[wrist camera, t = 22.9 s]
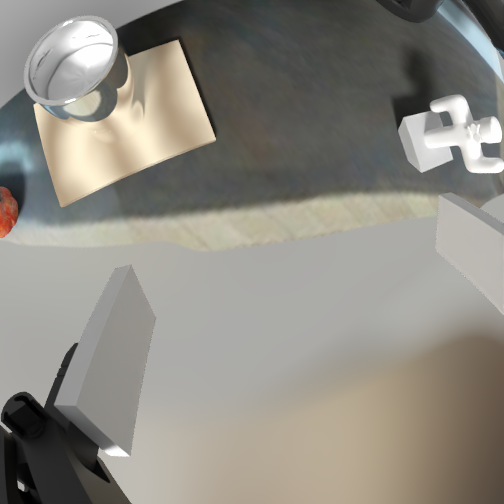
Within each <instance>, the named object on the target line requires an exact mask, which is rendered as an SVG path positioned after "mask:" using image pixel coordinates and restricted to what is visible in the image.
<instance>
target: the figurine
mask: <svg viewBox="0 0 504 504" xmlns="http://www.w3.org/2000/svg"><path fill="white" fill-rule="evenodd" d="M430 109H431V110H432V111H428V112H424V113H419V114H415V115H411V116H407V117H404V118H403V120H402V122H401V125H400V127H399V129H398V133H399V135H400V138H401V141H402V144H403V147H404V150H405V153H406V157H407V160H408V161H409V162H410V163H411V164H412V165H413V166H414V167H416V168H417V169H418V170H419V171H420V172H421V173H422V172H424V171H427V170H429V169H431V168H434V167H436V166H439V165H441V164H443V163H446V162H448V161H450V160H453V158H452V154H451V150H450V147H449V146H454V145H458V146H459V147H460V149H461V152H462V155H463V159H464V163H465V166H466V168H467V170H469V171H470V172H474V173H499V172H501V171H502V170H503V169H504V162H503V160H502V159H500V158H486V157H484V156H483V153H482V149H481V145H480V143H481V142H487V143H497V142H500V141H501V139H502V131H501V127H500V124H499V122H498V120H497V119H496V118H495V117H494V116H492V117H486V118H482V119H481V120H479V121H474V120H473V118H472V115H471V112H470V109H469V106H468V104H467V101H466V99H465V98H464V97H463V96H462V95H450V96H446V97H443V98H440V99H436V100H433V101H432V102H431V103H430ZM443 111H448V112H449V113H450V116H451V119H452V122H453V125H452V126H446V127H443V124H442V121H441V119H440V116H439V113H438V112H443Z"/></svg>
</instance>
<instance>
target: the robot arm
mask: <svg viewBox="0 0 504 504" xmlns="http://www.w3.org/2000/svg"><path fill="white" fill-rule="evenodd" d="M377 1H378V2H379V3H380V4H381V5H383V6H384V7H385V8H386V9H388V10H389V11H391V12H392V13H394V14H395V15H397V16H399V17H400V18H403V19H405V20H407V21H410V22H415V23H420V22H424V21H425V20H427V19H429V18H431V17H432V16H433V15H434V14H435V12H436V11H437V9H438V8H439V6H440V5H441V3H442V2H443V0H377ZM462 1H463V2H464V3H465V4H466V6H467V7H468V8H469V10H470V11H471V12H472V13H473V15H474V16H475V18H476V19H477V20H478V22H479V23H480V24H481V26H482V27H483V29H484V30H485V32H486V33H487V34H488V36H489V37H490V39H491V42H492V44H493V46H494V47H495V48H496V49H497V50H498V51H499V53H500V54H501V56H502V58H503V59H504V0H462ZM435 250H436V251H437V252H438V253H439V254H441V255H442V256H443V257H444V258H445V259H446V260H448V261H449V262H450V263H451V264H452V265H453V266H454V267H455V268H456V269H457V270H458V271H460V272H461V273H462V274H463V275H464V276H465V277H466V278H467V279H468V280H469V281H470V282H471V283H472V284H473V285H474V286H475V287H477V289H478V290H480V291H481V292H482V293H483V294H484V295H485V296H486V297H487V298H488V299H489V300H490V301H491V302H492V303H493V304H494V306H495V307H496V308H497V309H498V310H499V311H500V312H501V313H502V314H503V315H504V223H502V222H500V221H499V220H497V219H496V218H494V217H492V216H491V215H489V214H488V213H486V212H484V211H483V210H481V209H479V208H478V207H476V206H474V205H473V204H471V203H469V202H467V201H466V200H464V199H462V198H460V197H459V196H457V195H455V194H453V193H446V194H441V195H439V208H438V226H437V238H436V249H435ZM155 320H156V317H155V315H154V313H153V311H152V309H151V307H150V305H149V302H148V300H147V298H146V296H145V294H144V292H143V290H142V288H141V285H140V283H139V281H138V279H137V276H136V274H135V272H134V270H133V267H132V265H128V266H124V267H120V268H116V269H115V270H114V271H113V273H112V275H111V277H110V279H109V281H108V283H107V285H106V287H105V289H104V291H103V293H102V295H101V297H100V299H99V301H98V303H97V305H96V307H95V309H94V311H93V313H92V315H91V317H90V319H89V322H88V324H87V326H86V328H85V330H84V332H83V335H82V337H81V339H80V341H79V343H75V344H74V345H73V346H72V347H71V348H70V350H69V351H68V352H67V353H66V355H65V357H64V360H63V362H62V364H61V368H60V369H59V371H58V373H57V377H56V378H55V381H54V383H53V386H52V388H51V391H50V393H49V396H48V398H47V401H46V404H45V406H44V408H43V407H42V406H41V405H40V404H39V403H38V402H37V401H36V400H35V399H34V397H33V396H32V395H31V394H29V393H27V392H20V393H17V394H15V395H13V396H12V397H11V398H10V399H9V400H8V401H7V403H6V404H5V406H4V407H3V411H2V413H1V422H3V423H4V424H5V425H6V426H7V427H8V428H9V429H10V430H11V431H12V433H8V432H7V431H6V430H5V429H4V428H3V427H2V426H1V425H0V504H131V503H130V501H129V500H128V498H127V497H126V496H125V494H124V493H123V491H122V490H121V489H120V487H119V486H118V484H117V483H116V481H115V480H114V478H113V477H112V475H111V473H110V472H109V470H108V469H107V467H106V466H105V464H104V462H103V461H102V460H101V459H100V458H99V457H98V456H97V454H98V449H99V447H100V448H101V449H102V450H104V452H106V453H107V454H108V455H109V456H131V449H132V441H133V435H134V428H135V422H136V415H137V409H138V404H139V398H140V392H141V387H142V382H143V377H144V371H145V366H146V361H147V356H148V352H149V347H150V343H151V338H152V333H153V329H154V324H155ZM17 480H18V481H19V482H21V483H22V484H24V487H25V490H24V491H22V490H20V489H19V488H18V483H17Z"/></svg>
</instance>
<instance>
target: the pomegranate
mask: <svg viewBox="0 0 504 504" xmlns="http://www.w3.org/2000/svg"><path fill="white" fill-rule="evenodd" d="M17 218H18V205H17V201H16V200H15V199H14V198H13V197H12V195H11V192H10V191H9V190H8V189H7V188H5V187H0V238H3V237H5V236H6V235H7V234H8V233H9V232H10V231H11V229H12V227H13V226H14V225H15V224H16V222H17Z"/></svg>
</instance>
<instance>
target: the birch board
mask: <svg viewBox="0 0 504 504" xmlns="http://www.w3.org/2000/svg"><path fill="white" fill-rule="evenodd" d="M129 58H130V62H131V65H132V68H133V75H134V94H136V95H137V96H138V98H139V99H140V100H141V102H142V105H143V110H144V115H143V120H142V123H141V125H140V127H139V129H138V130H137V132H136V133H135V134H134V135H133V136H132V137H130V138H129V139H127V140H126V141H123V142H121V143H117V144H107V143H103V142H101V141H99V140H97V139H96V138H95V137H94V136H93V134H92V133H91V131H90V130H85V129H79V128H76V127H72V126H69V125H67V124H65V123H63V122H61V121H60V120H58V119H56V118H55V117H54V116H52V115H51V114H49V113H48V112H47V111H46V110H45V109H44V108H43V107H42V106H41V105H40V104H39V103H36V104H34V110H35V115H36V120H37V124H38V129H39V133H40V137H41V142H42V146H43V149H44V153H45V157H46V161H47V164H48V168H49V171H50V175H51V178H52V181H53V185H54V188H55V191H56V194H57V197H58V200H59V203H60V206H61V207H65V206H67V205H69V204H71V203H73V202H75V201H77V200H79V199H81V198H83V197H85V196H87V195H89V194H91V193H93V192H95V191H97V190H99V189H101V188H103V187H105V186H107V185H109V184H111V183H114V182H116V181H118V180H120V179H122V178H125V177H127V176H129V175H131V174H133V173H136V172H138V171H140V170H143V169H145V168H147V167H150V166H152V165H154V164H157V163H159V162H162V161H164V160H167V159H169V158H172V157H174V156H177V155H179V154H182V153H185V152H187V151H190V150H193V149H195V148H198V147H201V146H203V145H206V144H209V143H212V142H215V140H216V138H215V135H214V133H213V130H212V127H211V125H210V122H209V119H208V117H207V114H206V112H205V109H204V106H203V104H202V101H201V98H200V96H199V93H198V90H197V88H196V85H195V83H194V80H193V77H192V75H191V72H190V69H189V67H188V64H187V62H186V59H185V56H184V54H183V51H182V48H181V46H180V43H179V41H178V40H176V41H173V42H169V43H166V44H163V45H160V46H157V47H154V48H151V49H149V50H146V51H143V52H140V53H138V54H135V55H132V56H130V57H129Z"/></svg>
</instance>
